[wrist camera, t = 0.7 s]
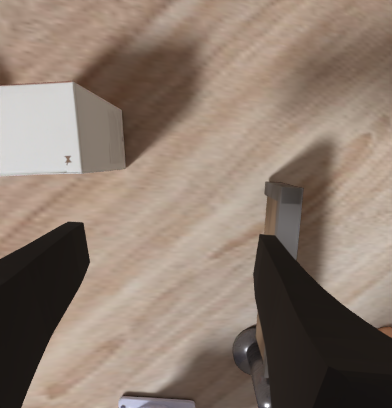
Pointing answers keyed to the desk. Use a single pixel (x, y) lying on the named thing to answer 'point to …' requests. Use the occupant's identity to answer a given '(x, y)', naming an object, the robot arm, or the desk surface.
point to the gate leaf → (281, 231)
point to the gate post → (252, 364)
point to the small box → (58, 130)
